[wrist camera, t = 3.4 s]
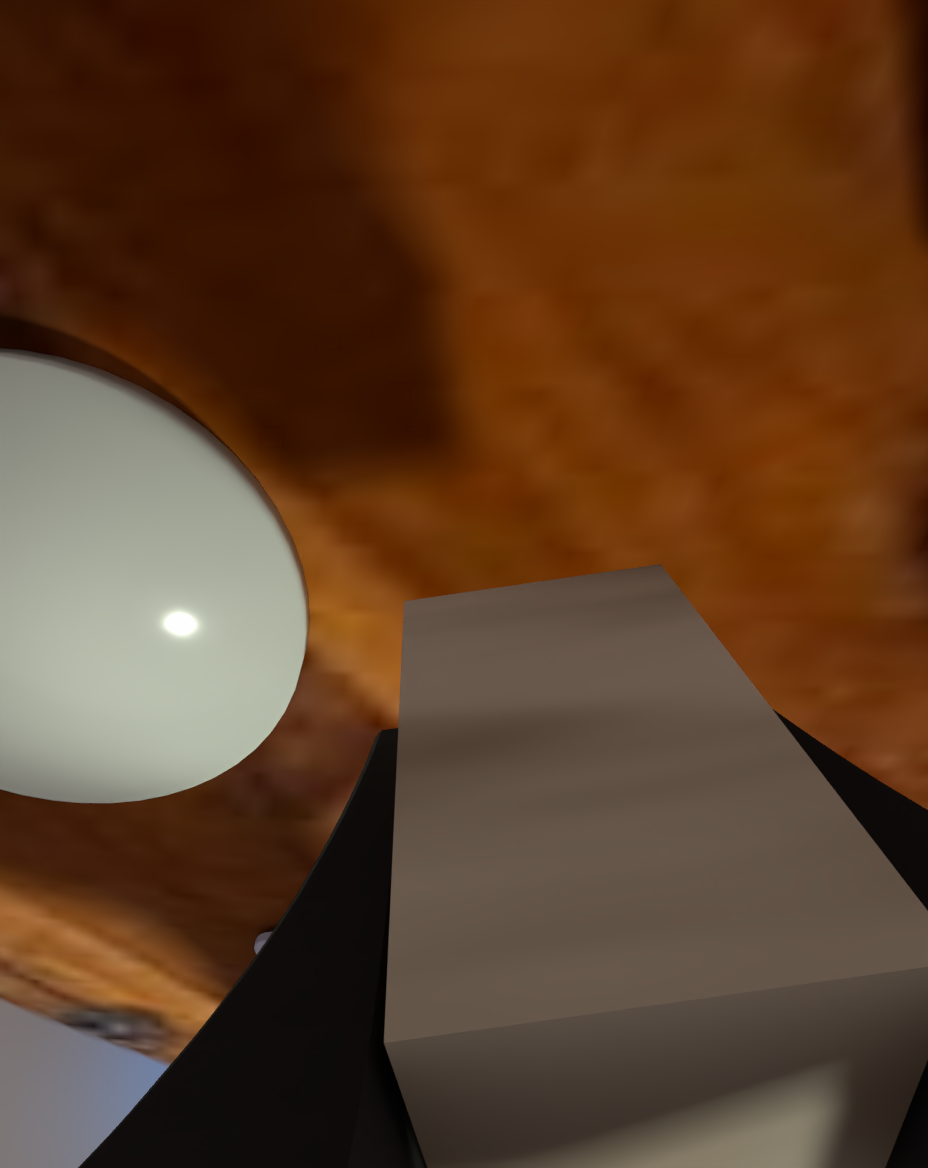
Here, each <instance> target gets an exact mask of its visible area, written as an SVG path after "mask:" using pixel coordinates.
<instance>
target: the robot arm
mask: <svg viewBox="0 0 928 1168" xmlns="http://www.w3.org/2000/svg"><path fill="white" fill-rule="evenodd" d="M772 710H773V709H772ZM773 711H774V712H775V713H776V715H777V716H778V717H779V719H780V720H781V721H782V723H783V724H784V725H785V726H786V728H787V729H788V730H789V732H790V733H791V734H792V735H793V737H794V738H795V739H796V741H797V742H798V743H799V745H800V746H801V747H802V748H803V750H804V751H805V752H806V754H807V755H808V756H809V758H810V759H811V760H812V761H813V763H814V764H815V765H816V767H817V768H818V769H819V771H820V772H821V773H822V774H823V776H824V777H825V778H826V780H827V781H828V782H829V784H830V785H831V786H832V787H833V789H834V790H835V791H836V793H837V794H838V795H839V796H840V798H841V799H842V800H843V802H844V803H845V804H846V806H847V807H848V808H849V809H850V811H851V812H852V813H853V815H854V816H855V817H856V819H857V820H858V821H859V822H860V824H861V825H862V826H863V828H864V829H865V830H866V832H867V833H868V834H869V835H870V837H871V838H872V839H873V841H874V842H875V843H876V844H877V846H878V847H879V848H880V850H881V851H882V852H883V854H884V855H885V856H886V857H887V859H888V860H889V861H890V863H891V864H892V865H893V867H894V868H895V869H896V870H897V872H898V873H899V874H900V876H901V877H902V878H903V880H904V881H905V882H906V883H907V885H908V886H909V887H910V889H911V890H912V891H913V893H914V894H915V895H916V896H917V898H918V899H919V900H920V902H921V903H922V904H923V905H924V907H925V908H926V909H927V911H928V810H927V809H925V808H923V807H922V806H920V805H918V804H917V803H915V802H913V801H912V800H910V799H908V798H907V797H905V796H903V795H902V794H900V793H898V792H897V791H895V790H893V789H892V788H890V787H888V786H887V785H885V784H883V783H882V782H880V781H879V780H877V779H875V778H874V777H872V776H871V775H869V774H868V773H866V772H864V771H863V770H861V769H860V768H858V767H857V766H855V765H854V764H852V763H850V762H849V761H847V760H846V759H844V758H843V757H841V756H840V755H838V754H837V753H835V752H834V751H832V750H831V749H829V748H828V747H826V746H825V745H823V744H822V743H820V742H819V741H818V740H816V739H815V738H813V737H812V736H810V735H809V734H807V733H806V732H804V731H803V730H802V729H800V728H799V727H797V726H796V725H794V724H793V723H792V722H790V721H789V720H787V719H786V718H785V717H783V716H782V715H780V714H779V713H777V712H776V711H775V710H773ZM397 747H398V728H395V729H388V730H381V732H380V733H379V734H378V735H377V736H376V738H375V741H374V743H373V746H372V749H371V751H370V754H369V756H368V758H367V761H366V763H365V766H364V768H363V770H362V772H361V775H360V777H359V779H358V781H357V783H356V786H355V788H354V790H353V792H352V794H351V796H350V798H349V800H348V802H347V804H346V806H345V808H344V810H343V812H342V814H341V816H340V818H339V820H338V822H337V824H336V826H335V828H334V830H333V832H332V834H331V836H330V838H329V840H328V841H327V843H326V845H325V847H324V849H323V850H322V852H321V854H320V855H319V857H318V859H317V861H316V862H315V864H314V866H313V868H312V869H311V871H310V873H309V874H308V876H307V878H306V880H305V881H304V883H303V885H302V887H301V888H300V890H299V892H298V893H297V895H296V896H295V898H294V900H293V901H292V903H291V904H290V906H289V907H288V909H287V911H286V912H285V914H284V915H283V917H282V918H281V920H280V921H279V923H278V924H277V926H276V927H275V929H274V930H273V931H271V932H265V933H262V934H260V935H259V936H257V938H256V941H255V945H254V950H255V952H256V957H255V958H254V959H253V961H252V962H251V963H250V965H249V966H248V967H247V969H246V970H245V972H244V973H243V974H242V976H241V977H240V978H239V980H238V981H237V982H236V984H235V985H234V986H233V988H232V989H231V990H230V992H229V993H228V994H227V996H226V997H225V998H224V1000H223V1001H222V1002H221V1004H220V1005H219V1006H218V1008H217V1009H216V1010H215V1011H214V1013H213V1014H212V1015H211V1017H210V1018H209V1019H208V1020H207V1022H206V1023H205V1024H204V1025H203V1027H202V1028H201V1029H200V1030H199V1032H198V1033H197V1034H196V1035H195V1037H194V1038H193V1039H192V1040H191V1041H190V1043H189V1044H188V1045H187V1046H186V1047H185V1048H184V1050H183V1051H182V1052H181V1053H180V1054H179V1055H178V1057H177V1058H176V1059H175V1060H174V1061H173V1062H172V1064H171V1065H170V1066H169V1067H168V1068H167V1070H166V1071H165V1072H164V1073H163V1074H162V1075H161V1077H160V1078H159V1079H158V1080H157V1081H156V1082H155V1084H154V1085H153V1086H152V1087H151V1088H150V1089H149V1091H148V1092H147V1093H146V1094H145V1095H144V1096H143V1098H142V1099H141V1100H140V1101H139V1102H138V1103H137V1105H136V1106H135V1107H134V1108H133V1109H132V1111H131V1112H130V1113H129V1114H128V1115H127V1116H126V1117H125V1118H124V1119H123V1120H122V1122H121V1123H120V1124H119V1125H118V1126H117V1127H116V1128H115V1129H114V1130H113V1132H112V1133H111V1134H110V1135H109V1136H108V1137H107V1138H106V1139H105V1140H104V1141H103V1142H102V1143H101V1144H100V1145H99V1146H98V1148H97V1149H96V1150H95V1151H94V1152H93V1153H92V1154H91V1155H90V1156H89V1157H88V1158H87V1159H86V1160H85V1161H84V1162H83V1163H82V1164H81V1165H80V1167H78V1168H427V1165H426V1162H425V1160H424V1157H423V1154H422V1151H421V1148H420V1145H419V1142H418V1139H417V1137H416V1134H415V1131H414V1128H413V1125H412V1122H411V1119H410V1117H409V1114H408V1111H407V1108H406V1105H405V1102H404V1099H403V1096H402V1094H401V1091H400V1088H399V1085H398V1082H397V1079H396V1076H395V1073H394V1071H393V1068H392V1065H391V1062H390V1059H389V1056H388V1053H387V1050H386V1048H385V1045H384V1029H385V1008H386V986H387V964H388V943H389V921H390V899H391V878H392V856H393V834H394V813H395V791H396V769H397ZM885 1168H928V1060H927V1063H926V1066H925V1068H924V1071H923V1073H922V1076H921V1078H920V1081H919V1083H918V1086H917V1088H916V1091H915V1093H914V1096H913V1099H912V1101H911V1104H910V1106H909V1109H908V1111H907V1114H906V1116H905V1119H904V1121H903V1124H902V1126H901V1129H900V1132H899V1134H898V1137H897V1139H896V1142H895V1144H894V1147H893V1149H892V1152H891V1154H890V1157H889V1160H888V1162H887V1165H886V1167H885Z"/></svg>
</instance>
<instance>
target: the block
mask: <svg viewBox="0 0 928 1168" xmlns="http://www.w3.org/2000/svg"><path fill="white" fill-rule="evenodd" d="M384 1045H385V1048H386V1050H387V1053H388V1056H389V1059H390V1062H391V1065H392V1068H393V1071H394V1073H395V1076H396V1079H397V1082H398V1085H399V1088H400V1091H401V1094H402V1096H403V1099H404V1102H405V1105H406V1108H407V1111H408V1114H409V1117H410V1119H411V1122H412V1125H413V1128H414V1131H415V1134H416V1137H417V1139H418V1142H419V1145H420V1148H421V1151H422V1154H423V1157H424V1160H425V1162H426V1165H427V1168H885V1167H886V1165H887V1162H888V1160H889V1157H890V1154H891V1152H892V1149H893V1147H894V1144H895V1142H896V1139H897V1137H898V1134H899V1132H900V1129H901V1126H902V1124H903V1121H904V1119H905V1116H906V1114H907V1111H908V1109H909V1106H910V1104H911V1101H912V1099H913V1096H914V1093H915V1091H916V1088H917V1086H918V1083H919V1081H920V1078H921V1076H922V1073H923V1071H924V1068H925V1066H926V1063H927V1060H928V911H927V909H926V908H925V907H924V905H923V904H922V903H921V902H920V900H919V899H918V898H917V896H916V895H915V894H914V893H913V891H912V890H911V889H910V887H909V886H908V885H907V883H906V882H905V881H904V880H903V878H902V877H901V876H900V874H899V873H898V872H897V870H896V869H895V868H894V867H893V865H892V864H891V863H890V861H889V860H888V859H887V857H886V856H885V855H884V854H883V852H882V851H881V850H880V848H879V847H878V846H877V844H876V843H875V842H874V841H873V839H872V838H871V837H870V835H869V834H868V833H867V832H866V830H865V829H864V828H863V826H862V825H861V824H860V822H859V821H858V820H857V819H856V817H855V816H854V815H853V813H852V812H851V811H850V809H849V808H848V807H847V806H846V804H845V803H844V802H843V800H842V799H841V798H840V796H839V795H838V794H837V793H836V791H835V790H834V789H833V787H832V786H831V785H830V784H829V782H828V781H827V780H826V778H825V777H824V776H823V774H822V773H821V772H820V771H819V769H818V768H817V767H816V765H815V764H814V763H813V761H812V760H811V759H810V758H809V756H808V755H807V754H806V752H805V751H804V750H803V748H802V747H801V746H800V745H799V743H798V742H797V741H796V739H795V738H794V737H793V735H792V734H791V733H790V732H789V730H788V729H787V728H786V726H785V725H784V724H783V723H782V721H781V720H780V719H779V717H778V716H777V715H776V713H775V712H774V711H773V710H772V708H771V707H770V706H769V704H768V703H767V702H766V700H765V699H764V698H763V697H762V695H761V694H760V693H759V691H758V690H757V689H756V687H755V686H754V685H753V684H752V682H751V681H750V680H749V678H748V677H747V676H746V675H745V673H744V672H743V671H742V669H741V668H740V667H739V665H738V664H737V663H736V662H735V660H734V659H733V658H732V656H731V655H730V654H729V652H728V651H727V650H726V649H725V647H724V646H723V645H722V643H721V642H720V641H719V639H718V638H717V637H716V636H715V634H714V633H713V632H712V630H711V629H710V628H709V626H708V625H707V624H706V623H705V621H704V620H703V619H702V617H701V616H700V615H699V614H698V612H697V611H696V610H695V608H694V607H693V606H692V604H691V603H690V602H689V601H688V599H687V598H686V597H685V595H684V594H683V593H682V591H681V590H680V589H679V588H678V586H677V585H676V584H675V582H674V581H673V580H672V578H671V577H670V576H669V575H668V573H667V572H666V571H665V569H664V568H663V567H662V566H661V564H659V565H652V566H645V567H638V568H631V569H624V570H617V571H610V572H603V573H597V574H590V575H583V576H576V577H569V578H562V579H555V580H548V581H541V582H534V583H527V584H520V585H514V586H507V587H500V588H493V589H486V590H479V591H472V592H465V593H458V594H451V595H444V596H438V597H431V598H424V599H417V600H410V601H404V617H403V639H402V661H401V682H400V704H399V726H398V747H397V769H396V791H395V813H394V834H393V856H392V878H391V899H390V921H389V943H388V964H387V986H386V1008H385V1029H384Z"/></svg>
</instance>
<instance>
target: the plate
mask: <svg viewBox="0 0 928 1168" xmlns="http://www.w3.org/2000/svg"><path fill="white" fill-rule="evenodd" d="M309 623H310V615H309V597H308V590H307V585H306V580H305V575H304V570H303V566H302V563H301V560H300V558H299V555H298V552H297V549H296V546H295V544H294V541H293V538H292V536H291V534H290V532H289V530H288V528H287V526H286V525H285V523H284V521H283V519H282V517H281V515H280V513H279V511H278V509H277V508H276V506H275V505H274V503H273V502H272V500H271V499H270V498H269V496H268V495H267V493H266V492H265V490H264V489H263V487H262V486H261V484H260V483H259V482H258V480H257V479H256V478H255V477H254V476H253V475H252V474H251V472H250V471H249V470H248V469H247V468H246V467H245V466H244V464H243V463H242V462H241V461H240V460H239V459H238V458H237V456H236V455H235V454H234V453H233V452H231V451H230V450H229V449H228V448H227V447H226V446H225V445H224V444H223V443H222V442H221V441H219V440H218V439H217V438H216V437H215V436H214V435H213V434H212V433H211V432H210V431H208V430H207V429H206V428H205V427H203V426H202V425H201V424H199V423H198V422H196V421H195V420H194V419H192V418H191V417H190V416H188V415H187V414H185V413H184V412H183V411H181V410H180V409H179V408H177V407H176V406H174V405H172V404H171V403H169V402H167V401H165V400H164V399H162V398H160V397H158V396H157V395H155V394H153V393H151V392H150V391H148V390H146V389H144V388H143V387H141V386H139V385H137V384H134V383H132V382H130V381H128V380H125V379H123V378H121V377H118V376H116V375H114V374H111V373H109V372H107V371H105V370H102V369H99V368H96V367H93V366H89V365H86V364H83V363H80V362H76V361H73V360H70V359H67V358H63V357H59V356H53V355H48V354H42V353H37V352H31V351H26V350H18V349H1V348H0V789H1V790H5V791H9V792H13V793H16V794H20V795H25V796H31V797H36V798H42V799H48V800H54V801H65V802H76V803H119V802H130V801H140V800H145V799H150V798H156V797H161V796H166V795H169V794H173V793H176V792H179V791H182V790H186V789H189V788H192V787H194V786H196V785H199V784H201V783H203V782H206V781H208V780H210V779H212V778H215V777H216V776H218V775H220V774H221V773H223V772H225V771H226V770H228V769H230V768H231V767H233V766H235V765H236V764H238V763H239V762H240V761H241V760H243V759H244V758H245V757H246V756H248V755H249V754H250V753H251V752H252V751H254V750H255V749H256V748H257V747H258V746H259V745H260V744H261V743H262V741H263V740H264V739H265V738H266V737H267V736H268V735H269V734H270V733H271V732H272V730H273V729H274V727H275V726H276V724H277V723H278V721H279V720H280V718H281V717H282V715H283V714H284V712H285V710H286V708H287V706H288V704H289V702H290V699H291V697H292V695H293V693H294V691H295V688H296V684H297V681H298V677H299V674H300V670H301V667H302V663H303V659H304V656H305V652H306V648H307V643H308V633H309Z"/></svg>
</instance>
